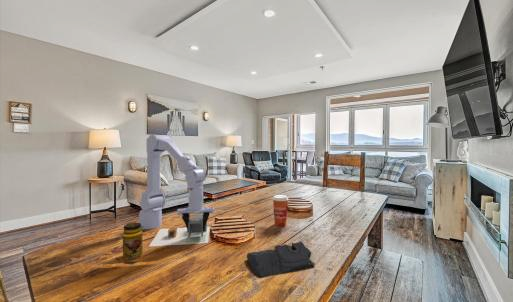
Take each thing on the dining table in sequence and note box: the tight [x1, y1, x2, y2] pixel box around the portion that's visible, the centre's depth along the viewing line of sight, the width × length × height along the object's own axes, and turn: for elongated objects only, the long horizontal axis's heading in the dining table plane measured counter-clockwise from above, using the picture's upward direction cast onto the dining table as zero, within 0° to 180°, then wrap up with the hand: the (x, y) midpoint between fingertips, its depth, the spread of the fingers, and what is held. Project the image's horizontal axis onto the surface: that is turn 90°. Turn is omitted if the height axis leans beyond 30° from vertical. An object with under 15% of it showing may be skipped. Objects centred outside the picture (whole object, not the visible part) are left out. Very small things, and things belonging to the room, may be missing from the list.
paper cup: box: [272, 194, 289, 228], centre depth 115 cm, size 8×8×14 cm
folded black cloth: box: [246, 241, 316, 279], centre depth 80 cm, size 15×22×5 cm
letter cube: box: [168, 227, 178, 238], centre depth 98 cm, size 3×3×3 cm
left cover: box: [188, 217, 203, 238], centre depth 96 cm, size 6×6×6 cm
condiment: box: [122, 221, 144, 265], centre depth 82 cm, size 7×8×12 cm
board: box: [148, 225, 211, 248], centre depth 99 cm, size 22×18×1 cm
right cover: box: [193, 214, 208, 232], centre depth 105 cm, size 6×6×6 cm
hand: (196, 231), depth 96 cm, fingers closed on left cover, 5 cm apart
